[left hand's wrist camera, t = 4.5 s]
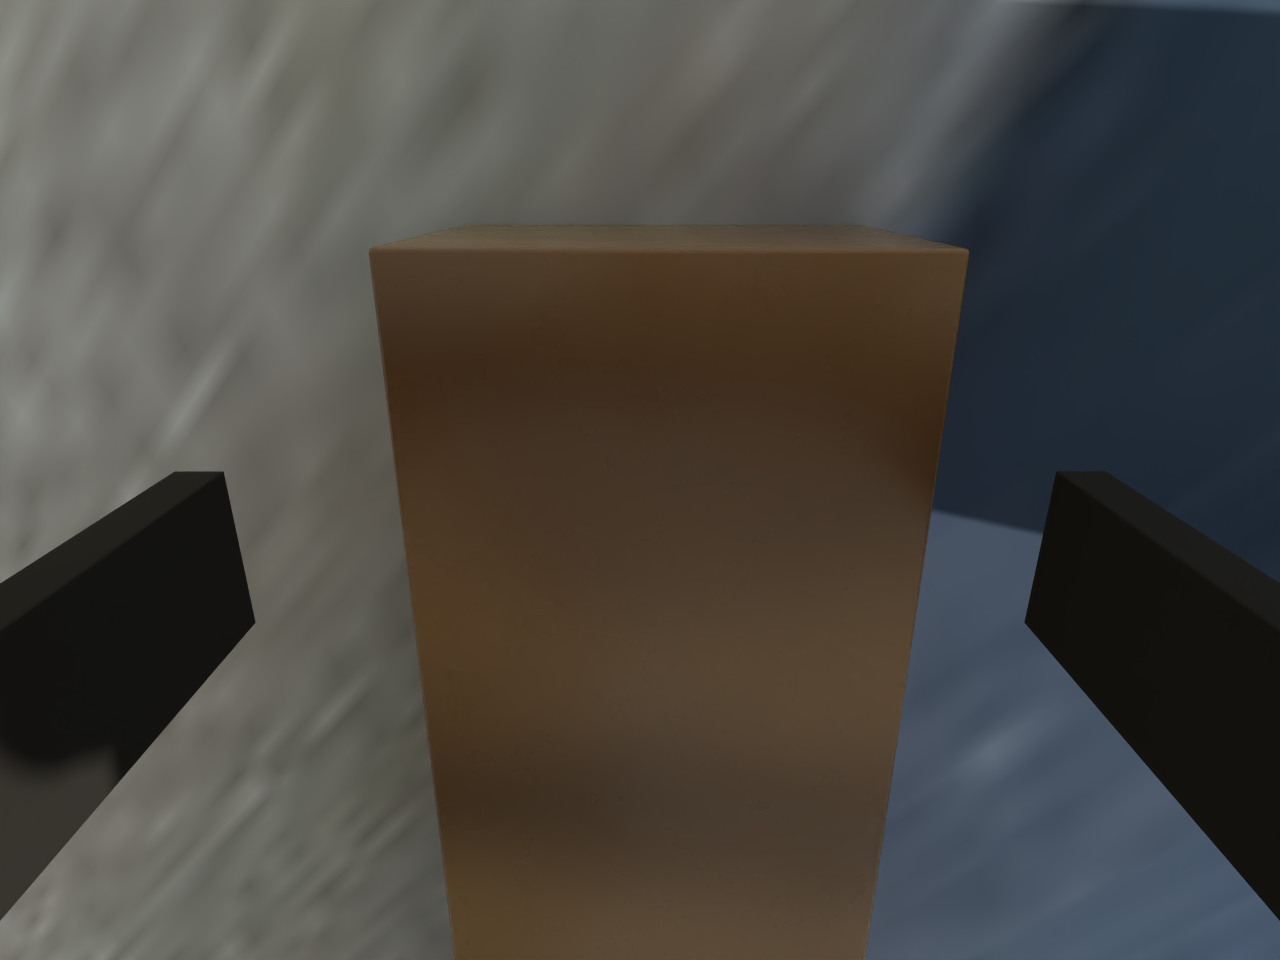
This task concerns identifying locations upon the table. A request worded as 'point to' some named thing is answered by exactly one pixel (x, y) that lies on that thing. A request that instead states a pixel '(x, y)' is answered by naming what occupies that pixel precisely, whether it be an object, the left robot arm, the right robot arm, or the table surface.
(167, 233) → the table surface
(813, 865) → the long beam
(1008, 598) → the table surface
